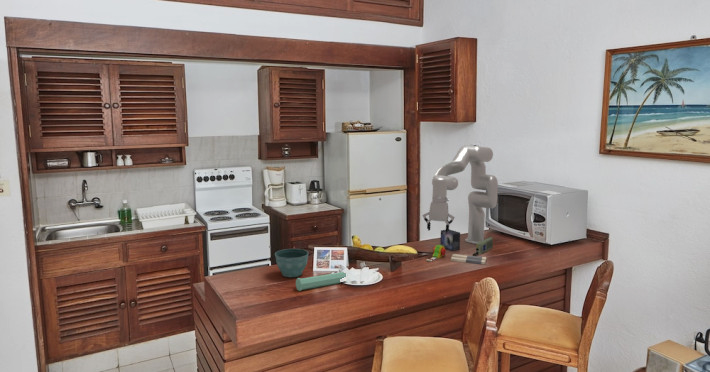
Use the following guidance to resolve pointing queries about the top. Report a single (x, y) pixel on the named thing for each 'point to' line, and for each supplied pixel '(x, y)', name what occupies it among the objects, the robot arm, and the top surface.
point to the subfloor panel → (468, 259)
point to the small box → (450, 240)
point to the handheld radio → (483, 246)
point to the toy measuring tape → (438, 252)
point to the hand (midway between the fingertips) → (437, 230)
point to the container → (319, 281)
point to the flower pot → (291, 261)
